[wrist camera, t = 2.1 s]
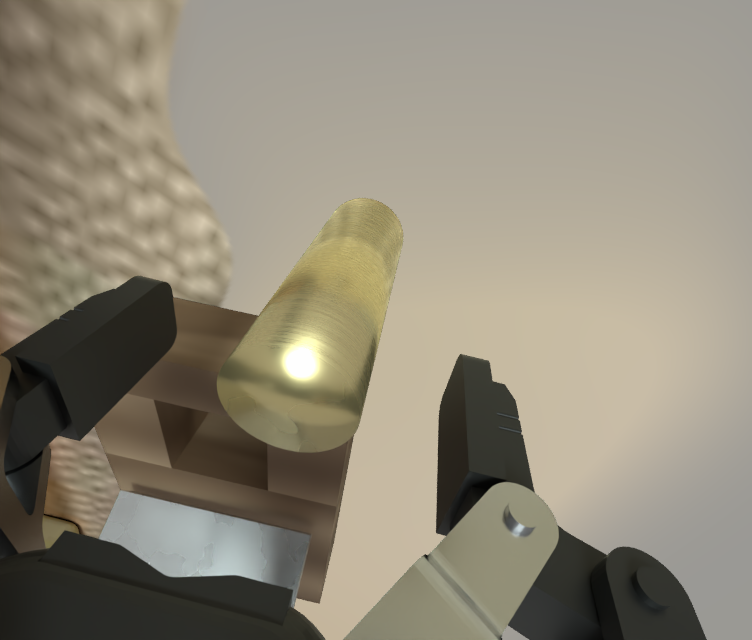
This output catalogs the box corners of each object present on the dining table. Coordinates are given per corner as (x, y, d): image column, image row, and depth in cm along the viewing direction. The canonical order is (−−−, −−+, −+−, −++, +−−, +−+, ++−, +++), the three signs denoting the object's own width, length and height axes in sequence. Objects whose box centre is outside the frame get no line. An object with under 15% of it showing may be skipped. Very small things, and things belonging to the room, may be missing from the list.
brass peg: (331, 190, 14) (210, 330, 7) (410, 207, 14) (370, 366, 7) (325, 262, 16) (222, 435, 9) (395, 277, 16) (351, 464, 9)
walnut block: (126, 287, 18) (57, 336, 15) (371, 340, 18) (354, 403, 15) (182, 507, 30) (150, 562, 27) (333, 543, 30) (319, 603, 26)
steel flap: (130, 490, 21) (120, 490, 20) (312, 533, 20) (310, 535, 19) (33, 710, 17) (15, 722, 16) (254, 768, 17) (248, 784, 16)
